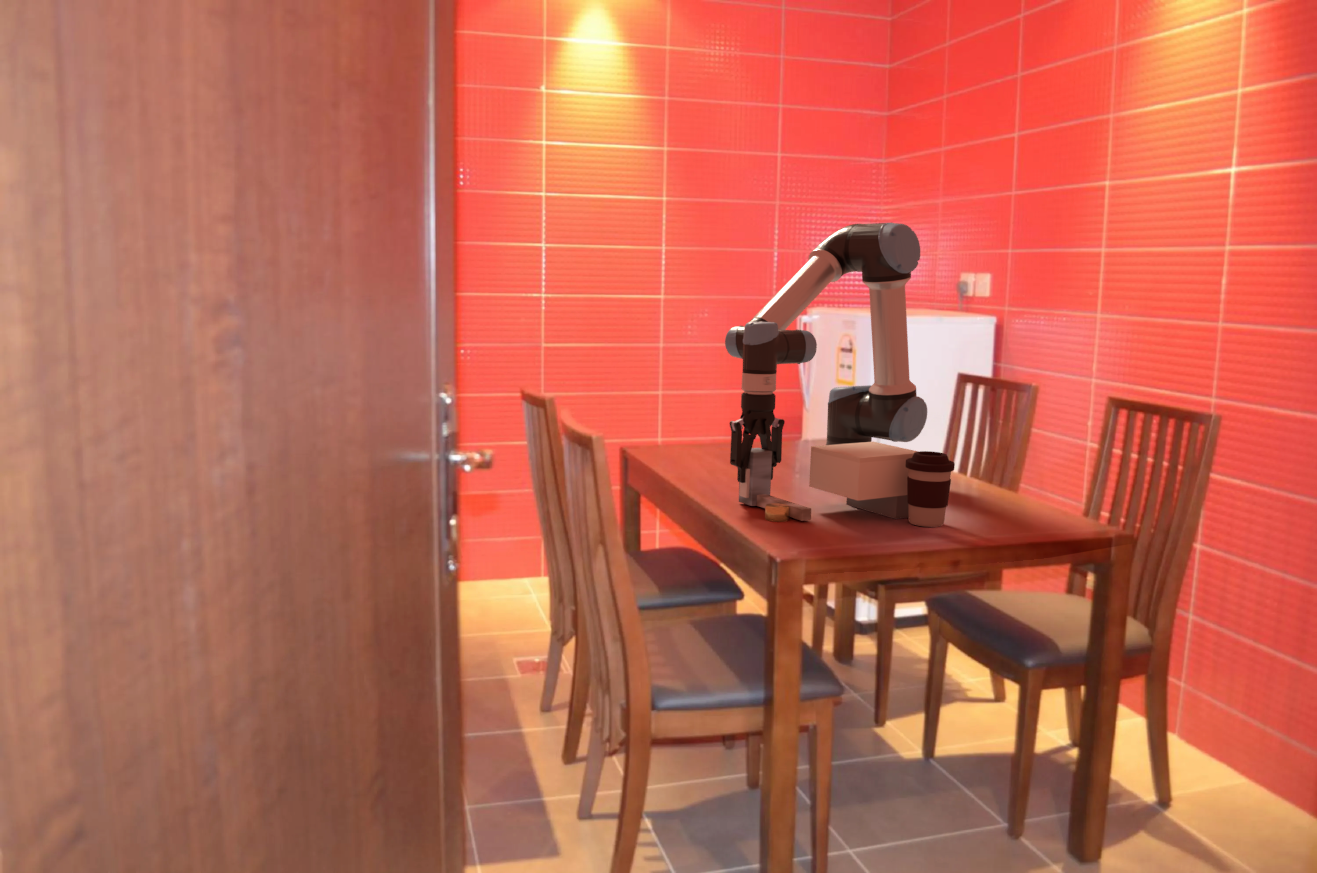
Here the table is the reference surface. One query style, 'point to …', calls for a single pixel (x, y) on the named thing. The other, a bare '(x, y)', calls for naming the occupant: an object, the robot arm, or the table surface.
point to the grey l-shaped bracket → (767, 485)
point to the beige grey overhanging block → (864, 475)
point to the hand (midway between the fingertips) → (754, 495)
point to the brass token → (777, 512)
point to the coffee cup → (928, 487)
